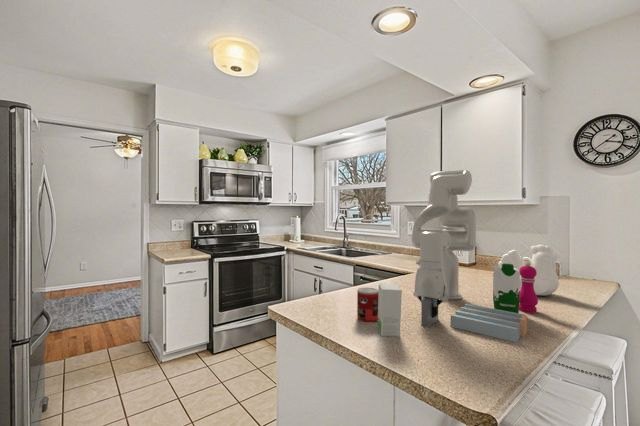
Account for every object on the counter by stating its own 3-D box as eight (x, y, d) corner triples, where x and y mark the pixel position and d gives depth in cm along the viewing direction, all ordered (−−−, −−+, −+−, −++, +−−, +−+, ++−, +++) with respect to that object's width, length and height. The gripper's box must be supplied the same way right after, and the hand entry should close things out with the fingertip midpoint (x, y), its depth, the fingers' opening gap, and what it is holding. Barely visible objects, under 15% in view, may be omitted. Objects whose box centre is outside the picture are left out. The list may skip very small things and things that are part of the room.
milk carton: (495, 315, 122) (496, 264, 121) (491, 308, 130) (491, 261, 130) (521, 318, 119) (522, 266, 119) (515, 311, 127) (515, 262, 127)
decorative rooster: (563, 295, 151) (564, 244, 151) (550, 301, 142) (551, 246, 142) (508, 285, 171) (508, 240, 171) (494, 289, 162) (494, 242, 162)
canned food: (355, 315, 121) (355, 287, 121) (375, 315, 121) (375, 287, 121) (359, 323, 113) (359, 292, 113) (381, 322, 114) (381, 292, 114)
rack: (450, 326, 110) (450, 310, 110) (465, 313, 124) (466, 299, 124) (521, 343, 96) (521, 325, 96) (529, 326, 110) (529, 311, 110)
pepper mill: (541, 314, 124) (542, 263, 124) (521, 312, 125) (521, 263, 125) (532, 308, 131) (533, 261, 131) (514, 307, 132) (514, 260, 132)
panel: (427, 327, 109) (428, 301, 109) (421, 325, 111) (421, 300, 111) (438, 319, 117) (438, 295, 117) (431, 318, 118) (432, 294, 118)
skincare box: (377, 327, 109) (377, 282, 109) (396, 327, 109) (396, 283, 109) (381, 336, 101) (381, 288, 101) (401, 337, 101) (402, 289, 100)
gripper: (405, 264, 116) (404, 313, 116) (449, 269, 106) (449, 323, 106) (413, 261, 122) (413, 308, 122) (456, 266, 111) (456, 318, 112)
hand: (430, 315), depth 114 cm, fingers closed on panel, 2 cm apart
